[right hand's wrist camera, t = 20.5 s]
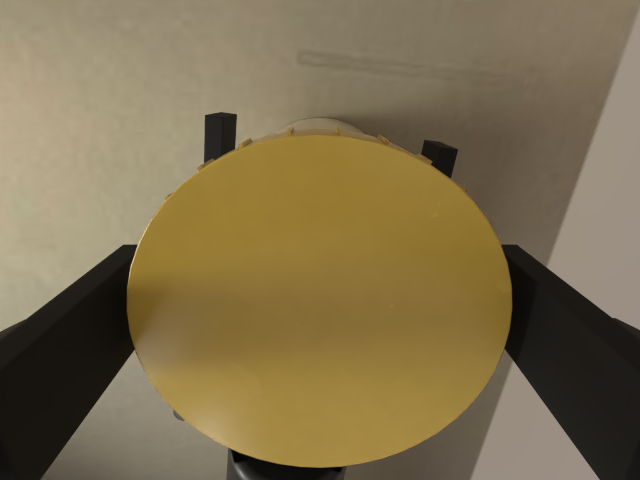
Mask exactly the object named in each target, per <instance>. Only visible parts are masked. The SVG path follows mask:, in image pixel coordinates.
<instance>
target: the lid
mask: <svg viewBox="0 0 640 480" xmlns="http://www.w3.org/2000/svg"><path fill="white" fill-rule="evenodd" d="M431 163H432V161H431V160H429V159H427V158H426V157H424V156H422V155H421V154H419V153H417V155H415V154H413V153H411V152H409V151H407V150H405V149H403V148H401V147H399V146H397V145H395V144H393V143H391V142H389V140H388V139H386V138H385V137H383V136H381V135H378V137H377V138H376V137H373V136H370V135H367V134H362V133H357V132H352V131H347V130H340V128H339V126H334V129H320V128H316V129H303V130H294V127H290V128H289V129H288V130H287V131H286V132H282V133H278V134H273V135H268V136H265V137H262V138H260V139H257V140H254V141H252V140H251V138H250V139H247V140H246V141H244V142H242V143H241V144H239V147H238V148H236V149H234V150H232V151H230V152H229V153H227V154H225V155H223V156H221V157H220V158H218V159H216V160H215V161H214V159H211V160H209V161H208V162H206V163H204V164H203V165H201V166H199V167H198V168H197V169H198V170H199V172H197V173H196V174H195V175H193V176H192V177H190V178H189V179H188V180H186V181H185V182H184V183H183V184H182V185H181V186H180V187H179V188H178V189H177V190H176V191H174V192H173V193H171V194H170V195H168V196H167V197H166V198H165V200H166V201H165V202H164V203H163V204H162V206H161V207H160V208H159V210H158V211H157V212H156V214H155V215H154V217H153V218H152V219H151V221H150V222H149V224H148V226H147V228H146V230H145V232H144V233H143V235H142V237H141V239H140V241H139V243H138V246H137V249H136V252H135V255H134V258H133V261H132V264H131V268H130V274H129V280H128V286H127V316H128V323H129V330H130V334H131V338H132V341H133V344H134V348H135V351H136V354H137V356H138V358H139V360H140V363H141V365H142V367H143V369H144V371H145V373H146V375H147V376H148V378H149V379H150V381H151V383H152V384H153V386H154V387H155V389H156V390H157V391H158V393H159V394H160V395H161V396H162V398H163V399H164V400H165V401H166V402H167V404H168V405H169V406H170V407H171V408H172V409H173V410H174V411H175V412H176V413H177V414H179V415H180V416H181V417H182V418H183V419H184V420H185V421H186V422H188V423H189V424H190V425H192V426H193V427H194V428H196V429H197V430H198V431H200V432H201V433H203V434H204V435H206V436H208V437H209V438H211V439H213V440H214V441H216V442H218V443H219V444H222V445H224V446H226V447H228V448H230V449H233V450H235V451H237V452H239V453H242V454H245V455H248V456H251V457H254V458H257V459H260V460H265V461H269V462H273V463H277V464H283V465H291V466H298V467H318V468H323V467H342V466H349V465H355V464H362V463H366V462H370V461H374V460H378V459H383V458H386V457H388V456H391V455H394V454H397V453H400V452H402V451H405V450H407V449H409V448H411V447H413V446H415V445H417V444H419V443H422V442H423V441H425V440H427V439H428V438H430V437H431V436H433V435H435V434H436V433H438V432H440V431H441V430H442V429H444V428H445V427H446V426H447V425H449V424H450V423H451V422H453V421H454V420H455V419H457V418H458V417H459V416H460V415H461V414H462V413H463V412H464V411H465V410H466V409H467V408H468V407H469V406H470V405H471V404H472V403H473V401H474V400H475V399H476V398H477V396H478V395H479V394H480V393H481V391H482V390H483V389H484V388H485V386H486V384H487V383H488V381H489V380H490V378H491V376H492V375H493V373H494V371H495V370H496V367H497V365H498V363H499V361H500V358H501V356H502V354H503V351H504V348H505V345H506V341H507V338H508V334H509V331H510V323H511V315H512V285H511V279H510V274H509V269H508V263H507V260H506V258H505V255H504V252H503V249H502V246H501V244H500V241H499V239H498V237H497V235H496V233H495V232H494V230H493V228H492V226H491V224H490V222H489V221H488V219H487V218H486V216H485V215H484V214H483V212H482V211H481V210H480V209H479V207H478V206H477V205H476V203H475V202H474V201H473V199H472V198H471V197H470V196H469V195H468V194H466V192H467V190H466V189H465V188H464V187H462V186H460V185H459V184H457V183H456V182H454V181H453V180H451V179H450V178H449V177H447V176H446V175H444V174H443V173H442V172H440V171H439V170H437V169H436V168H435V167H433V166H432V165H431Z"/></svg>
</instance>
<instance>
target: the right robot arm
mask: <svg viewBox="0 0 640 480" xmlns="http://www.w3.org/2000/svg"><path fill="white" fill-rule="evenodd" d="M137 246H138V245H122V246H121V247H120V248H118V249H117V250H116V251H115V252H113V253H112V254H111V255H109V256H108V257H107V258H105V259H104V260H103V261H102V262H100V263H99V264H98V265H96V266H95V267H94V268H92V269H91V270H90V271H89V272H87V273H86V274H85V275H83V276H82V277H81V278H79V279H78V280H77V281H75V282H74V283H73V284H72V285H70V286H69V287H68V288H66V289H65V290H64V291H62V292H61V293H60V294H59V295H57V296H56V297H55V298H53V299H52V300H51V301H49V302H48V303H47V304H45V305H44V306H43V307H42V308H40V309H39V310H38V311H36V312H35V313H34V314H32V315H31V316H30V317H29V318H27V319H26V320H23V321H21V322H19V323H17V324H15V325H13V326H11V327H9V328H7V329H5V330H3V331H1V332H0V480H40V479H41V478H42V476H43V475H44V474H45V472H46V471H47V470H48V468H49V467H50V465H51V464H52V463H53V461H54V460H55V458H56V457H57V456H58V454H59V453H60V452H61V450H62V449H63V447H64V446H65V445H66V443H67V442H68V441H69V439H70V438H71V436H72V435H73V434H74V432H75V431H76V430H77V428H78V427H79V425H80V424H81V423H82V421H83V420H84V419H85V417H86V416H87V414H88V413H89V412H90V410H91V409H92V407H93V406H94V405H95V403H96V402H97V401H98V399H99V398H100V396H101V395H102V394H103V392H104V391H105V390H106V388H107V387H108V385H109V384H110V383H111V381H112V380H113V379H114V377H115V376H116V374H117V373H118V372H119V370H120V369H121V368H122V366H123V365H124V363H125V362H126V361H127V359H128V358H129V356H130V355H131V354H132V352H133V351H134V350H135V348H134V344H133V341H132V338H131V334H130V330H129V323H128V316H127V286H128V280H129V274H130V268H131V264H132V261H133V258H134V255H135V252H136V249H137ZM501 246H502V249H503V252H504V255H505V258H506V260H507V263H508V269H509V274H510V279H511V285H512V315H511V323H510V331H509V334H508V338H507V341H506V345H505V350H506V351H507V352H508V354H509V355H510V356H511V358H512V359H513V361H514V362H515V363H516V365H517V366H518V368H519V369H520V370H521V372H522V373H523V374H524V376H525V377H526V379H527V380H528V381H529V383H530V384H531V385H532V387H533V388H534V389H535V391H536V392H537V394H538V395H539V396H540V398H541V399H542V401H543V402H544V403H545V405H546V406H547V407H548V409H549V410H550V412H551V413H552V414H553V416H554V417H555V418H556V420H557V421H558V423H559V424H560V425H561V427H562V428H563V430H564V431H565V432H566V434H567V435H568V436H569V438H570V439H571V441H572V442H573V443H574V445H575V446H576V447H577V449H578V450H579V452H580V453H581V454H582V456H583V457H584V458H585V460H586V461H587V463H588V464H589V465H590V467H591V468H592V470H593V471H594V472H595V474H596V475H597V476H598V478H599V479H600V480H640V330H638V329H636V328H634V327H632V326H630V325H628V324H626V323H624V322H622V321H620V320H618V319H616V318H611V317H610V316H609V315H608V314H606V313H605V312H604V311H602V310H601V309H600V308H598V307H597V306H596V305H594V304H593V303H592V302H591V301H589V300H588V299H587V298H585V297H584V296H583V295H581V294H580V293H579V292H578V291H576V290H575V289H574V288H572V287H571V286H570V285H568V284H567V283H566V282H565V281H563V280H562V279H560V278H559V277H558V276H557V275H555V274H554V273H553V272H551V271H550V270H549V269H548V268H546V267H545V266H544V265H542V264H541V263H540V262H538V261H537V260H536V259H535V258H533V257H532V256H531V255H529V254H528V253H527V252H525V251H524V250H523V249H522V248H520V247H519V246H518V245H501Z"/></svg>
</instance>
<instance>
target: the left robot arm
mask: <svg viewBox="0 0 640 480" xmlns="http://www.w3.org/2000/svg"><path fill="white" fill-rule="evenodd" d="M236 120H237V114H231V113H223V112H220V113H214V114H209V115H205V146H204V163H206V162H208V161H209V160H211V159H214V161H215V160H216V159H218V158H220V157H221V156H223V155H225V154H227V153H229V152H230V151H232V150H234V149H235V140H236ZM457 152H458V149H456V148H453V147H451V146H448V145H446V144H443V143H441V142H436V141H429V140H424V144H423V149H422V153H421V155H422V156H424V157H426V158H427V159H429V160H431V161H432V163H431V165H432V166H433V167H435V168H436V169H437V170H439V171H440V172H442V173H443V174H444V175H446V176H447V177H449V178H450V179H451V175H452V171H453V167H454V163H455V159H456V156H457ZM174 415H175V417H176V418H178V419H179V420H182V421H185V420H184V419H183V418H182V417H181V416H180V415H179V414H177V413H176V412H175V411H174ZM345 470H346V466H342V467H323V468H318V467H298V466H291V465H283V464H277V463H273V462H269V461H265V460H260V459H257V458H254V457H251V456H248V455H245V454H242V453H239V452H237V451H235V450H233V449H230V448H228V464H227V480H343V479H344V474H345Z"/></svg>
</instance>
